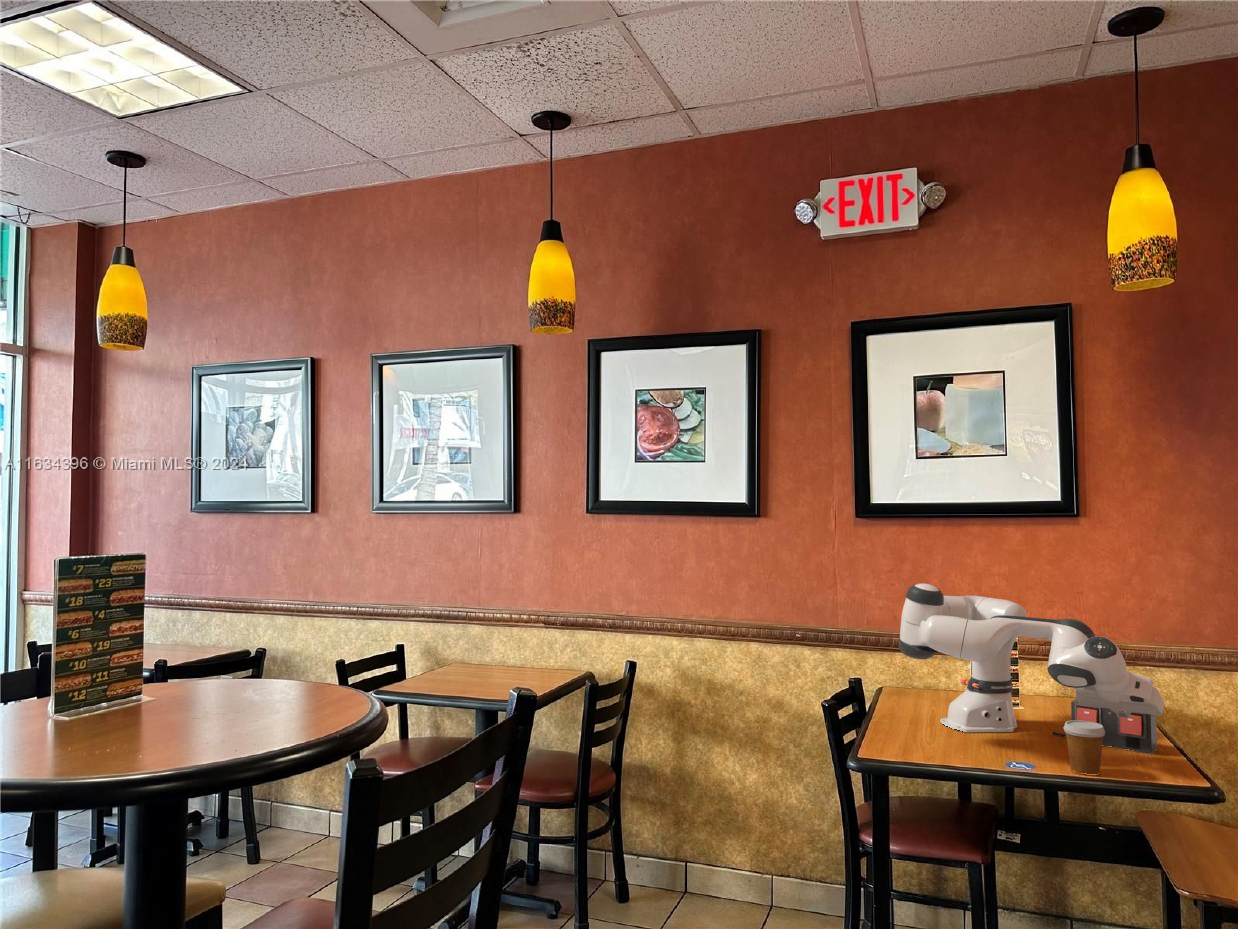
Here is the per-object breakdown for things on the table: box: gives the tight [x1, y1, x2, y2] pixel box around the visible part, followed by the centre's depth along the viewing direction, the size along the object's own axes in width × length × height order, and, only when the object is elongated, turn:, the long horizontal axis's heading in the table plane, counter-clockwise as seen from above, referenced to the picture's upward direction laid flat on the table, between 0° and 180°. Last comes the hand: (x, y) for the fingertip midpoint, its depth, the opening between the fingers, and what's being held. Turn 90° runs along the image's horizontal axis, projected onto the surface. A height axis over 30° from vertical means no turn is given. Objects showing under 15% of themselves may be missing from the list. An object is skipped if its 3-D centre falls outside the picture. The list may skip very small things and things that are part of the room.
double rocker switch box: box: [1052, 698, 1158, 754], centre depth 248 cm, size 26×7×11 cm, turn 47°
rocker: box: [1077, 707, 1098, 723], centre depth 247 cm, size 5×1×5 cm, turn 47°
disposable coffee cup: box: [1062, 719, 1105, 774], centre depth 223 cm, size 10×10×12 cm
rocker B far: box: [1120, 715, 1142, 736], centre depth 240 cm, size 5×1×5 cm, turn 47°
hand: (1124, 715), depth 235 cm, fingers closed
